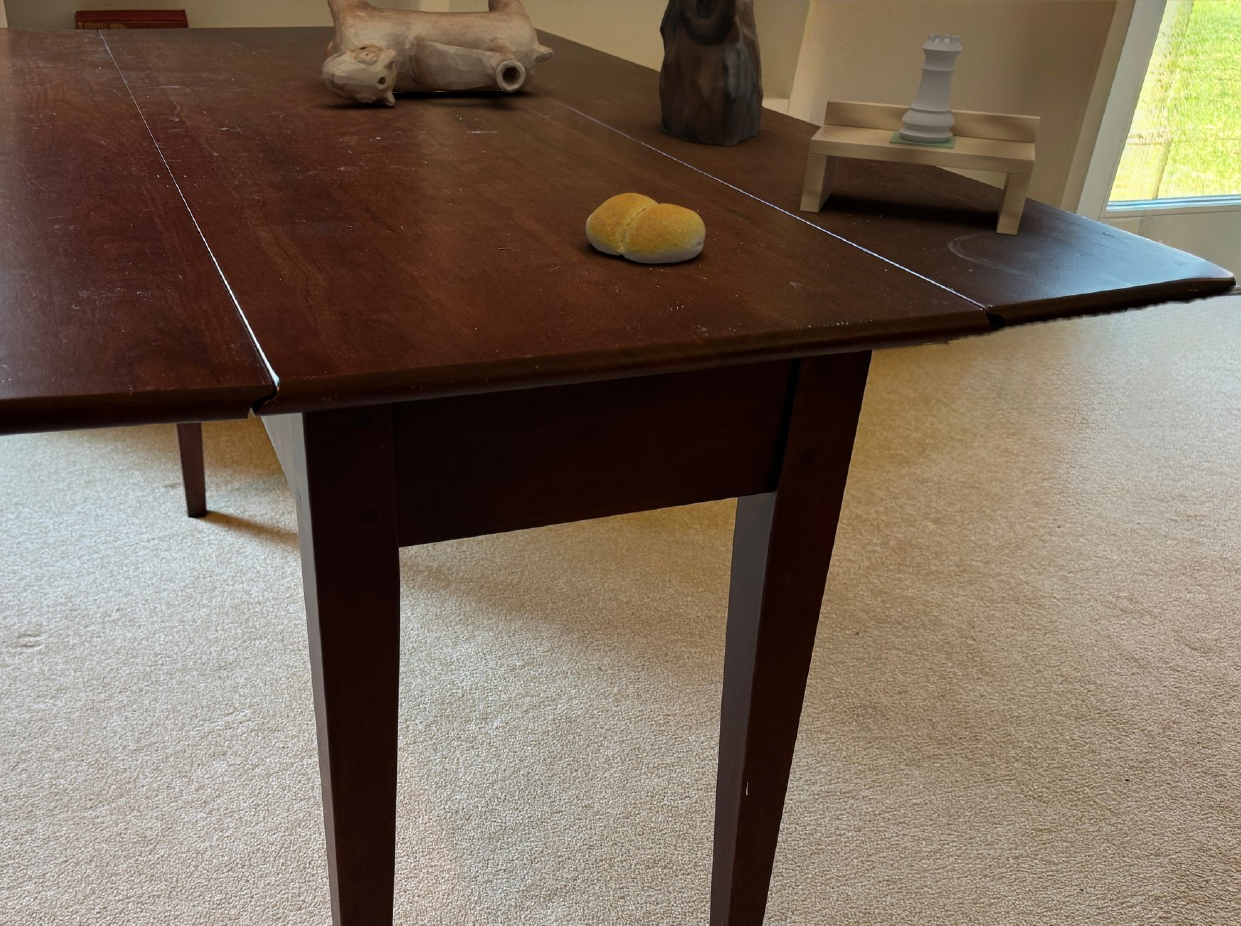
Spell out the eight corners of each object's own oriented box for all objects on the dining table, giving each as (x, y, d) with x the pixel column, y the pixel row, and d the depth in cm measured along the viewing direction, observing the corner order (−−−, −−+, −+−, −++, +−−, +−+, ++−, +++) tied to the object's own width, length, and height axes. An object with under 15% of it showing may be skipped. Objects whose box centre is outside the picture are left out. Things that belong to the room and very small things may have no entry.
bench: (1017, 211, 102) (1040, 116, 98) (1016, 235, 95) (1041, 133, 91) (815, 190, 107) (828, 99, 103) (799, 211, 100) (814, 113, 96)
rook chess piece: (960, 139, 98) (981, 36, 94) (939, 145, 95) (961, 40, 91) (910, 131, 100) (929, 31, 96) (889, 138, 97) (907, 34, 93)
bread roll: (667, 273, 83) (672, 217, 80) (569, 249, 87) (571, 195, 85) (726, 250, 88) (732, 197, 86) (630, 229, 93) (634, 178, 91)
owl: (731, 149, 123) (755, -63, 113) (624, 136, 128) (637, -69, 118) (765, 131, 133) (790, -65, 123) (664, 120, 138) (680, -70, 127)
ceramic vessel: (305, -39, 147) (328, 6, 128) (534, -13, 156) (587, 33, 137) (303, 67, 155) (324, 124, 136) (521, 86, 164) (569, 142, 145)
